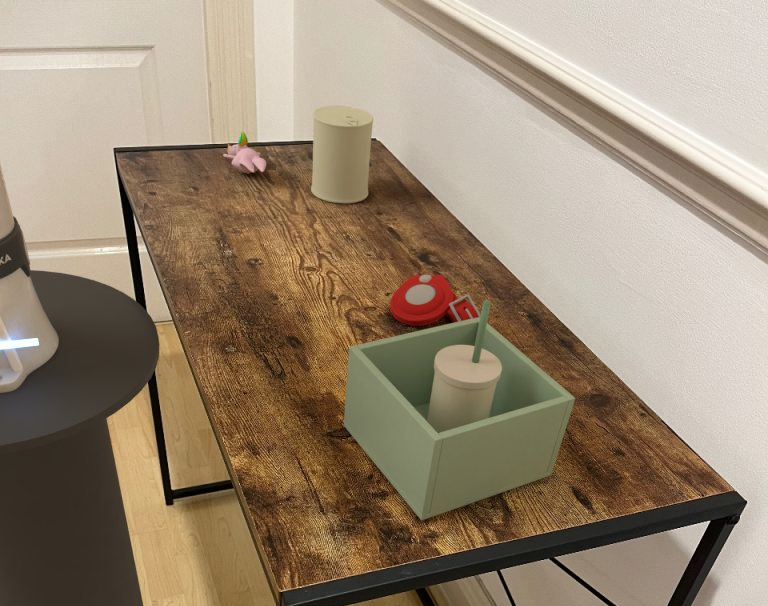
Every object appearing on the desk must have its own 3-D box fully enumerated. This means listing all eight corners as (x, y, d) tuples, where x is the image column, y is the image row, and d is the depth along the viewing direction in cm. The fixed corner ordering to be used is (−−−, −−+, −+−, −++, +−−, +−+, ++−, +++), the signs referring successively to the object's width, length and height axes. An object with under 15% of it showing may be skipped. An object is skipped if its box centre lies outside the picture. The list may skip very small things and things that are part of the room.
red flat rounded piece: (381, 317, 96) (395, 263, 101) (388, 343, 99) (401, 290, 105) (480, 315, 93) (489, 260, 98) (483, 342, 96) (491, 288, 102)
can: (325, 206, 121) (328, 124, 112) (301, 183, 126) (303, 103, 118) (378, 200, 124) (384, 120, 116) (352, 178, 130) (357, 100, 121)
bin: (421, 520, 72) (435, 440, 66) (343, 425, 82) (348, 346, 75) (551, 475, 79) (575, 398, 72) (465, 391, 88) (480, 316, 81)
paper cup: (443, 470, 77) (471, 326, 66) (410, 433, 81) (430, 291, 69) (495, 453, 79) (530, 312, 68) (461, 418, 83) (488, 279, 72)
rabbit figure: (218, 164, 132) (239, 184, 121) (215, 125, 129) (236, 142, 117) (254, 162, 134) (278, 182, 123) (252, 124, 131) (276, 141, 119)
